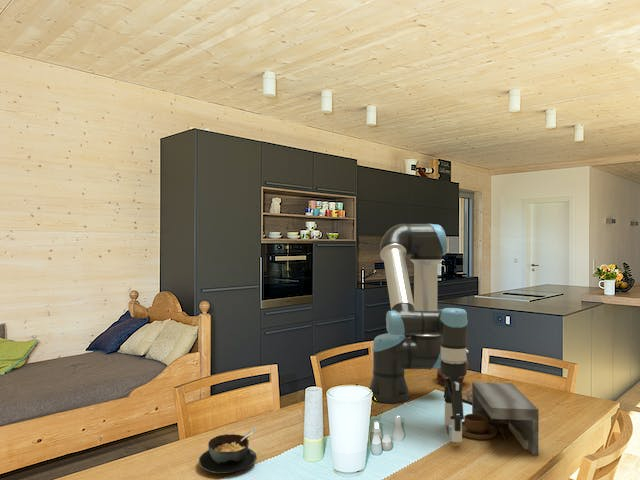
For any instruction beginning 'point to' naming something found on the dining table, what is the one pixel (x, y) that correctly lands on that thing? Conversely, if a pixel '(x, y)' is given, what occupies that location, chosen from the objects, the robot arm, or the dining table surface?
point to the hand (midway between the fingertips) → (452, 432)
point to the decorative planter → (442, 377)
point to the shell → (467, 396)
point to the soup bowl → (228, 454)
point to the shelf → (508, 411)
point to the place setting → (478, 427)
